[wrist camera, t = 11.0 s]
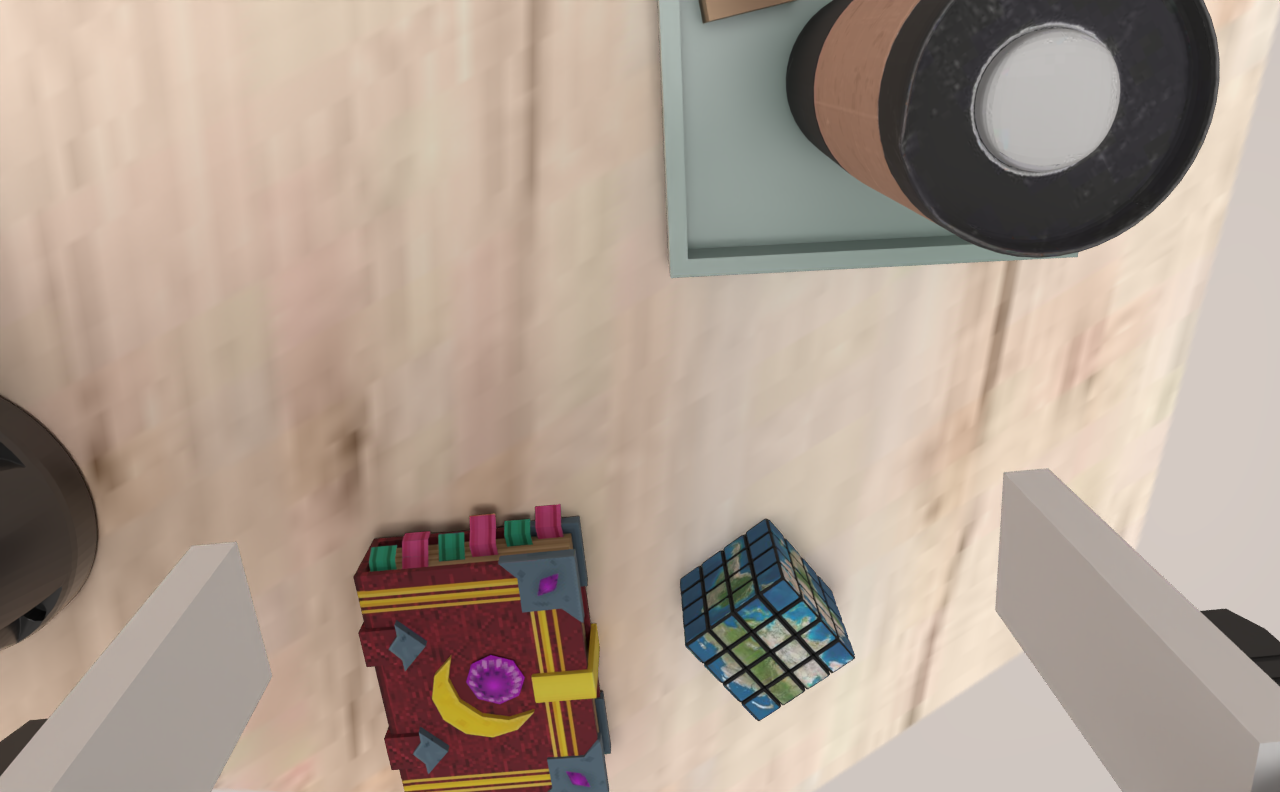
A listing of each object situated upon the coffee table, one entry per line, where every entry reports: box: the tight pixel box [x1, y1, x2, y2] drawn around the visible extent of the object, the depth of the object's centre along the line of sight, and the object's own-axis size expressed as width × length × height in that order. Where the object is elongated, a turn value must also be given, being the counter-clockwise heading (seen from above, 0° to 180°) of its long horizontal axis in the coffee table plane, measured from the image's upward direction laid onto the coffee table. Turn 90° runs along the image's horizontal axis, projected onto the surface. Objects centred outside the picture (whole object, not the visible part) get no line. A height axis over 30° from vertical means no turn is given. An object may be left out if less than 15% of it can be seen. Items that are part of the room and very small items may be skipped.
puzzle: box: [680, 519, 855, 721], centre depth 48 cm, size 6×6×6 cm
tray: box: [658, 0, 1078, 278], centre depth 40 cm, size 18×16×3 cm
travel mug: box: [786, 0, 1219, 258], centre depth 31 cm, size 8×8×20 cm
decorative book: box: [354, 504, 611, 792], centre depth 50 cm, size 11×16×5 cm
